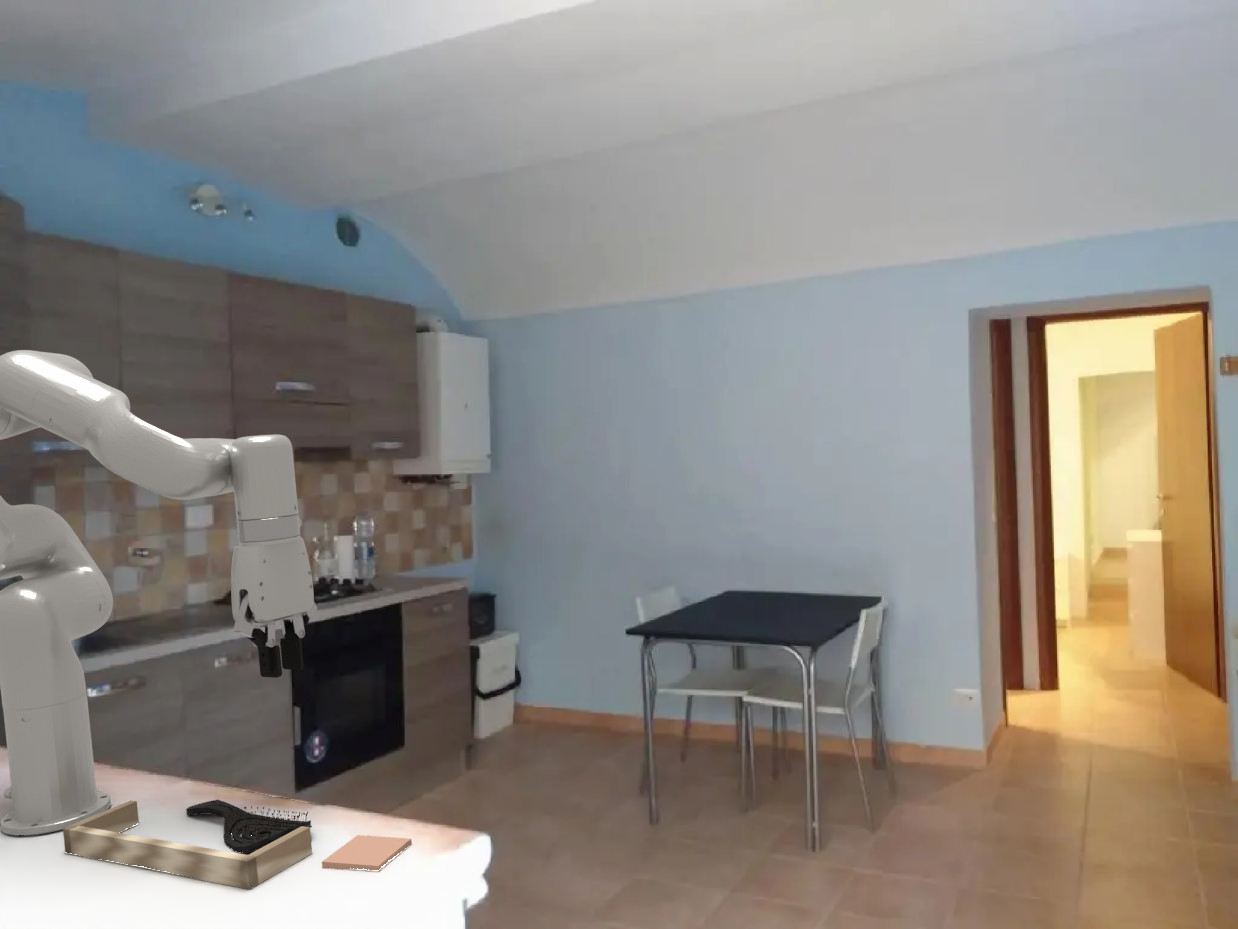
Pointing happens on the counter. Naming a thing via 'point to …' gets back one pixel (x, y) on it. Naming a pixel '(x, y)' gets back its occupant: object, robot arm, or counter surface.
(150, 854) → the u-shaped wooden frame
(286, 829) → the hairbrush
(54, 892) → the counter surface
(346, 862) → the terracotta tile
